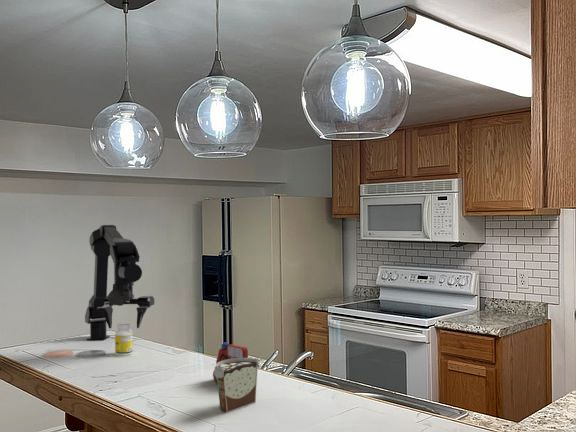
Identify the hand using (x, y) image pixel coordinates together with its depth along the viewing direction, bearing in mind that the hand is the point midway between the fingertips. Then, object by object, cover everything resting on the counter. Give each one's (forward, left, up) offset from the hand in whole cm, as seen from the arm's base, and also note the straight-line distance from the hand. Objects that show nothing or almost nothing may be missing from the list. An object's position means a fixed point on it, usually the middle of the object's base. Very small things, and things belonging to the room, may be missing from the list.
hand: (124, 328), depth 193 cm
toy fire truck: (+34, +41, -9) cm, 54 cm away
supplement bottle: (0, 0, -9) cm, 9 cm away
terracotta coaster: (0, -22, -9) cm, 24 cm away
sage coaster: (0, 0, -9) cm, 9 cm away
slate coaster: (0, -11, -9) cm, 14 cm away
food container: (+53, +44, -9) cm, 69 cm away
